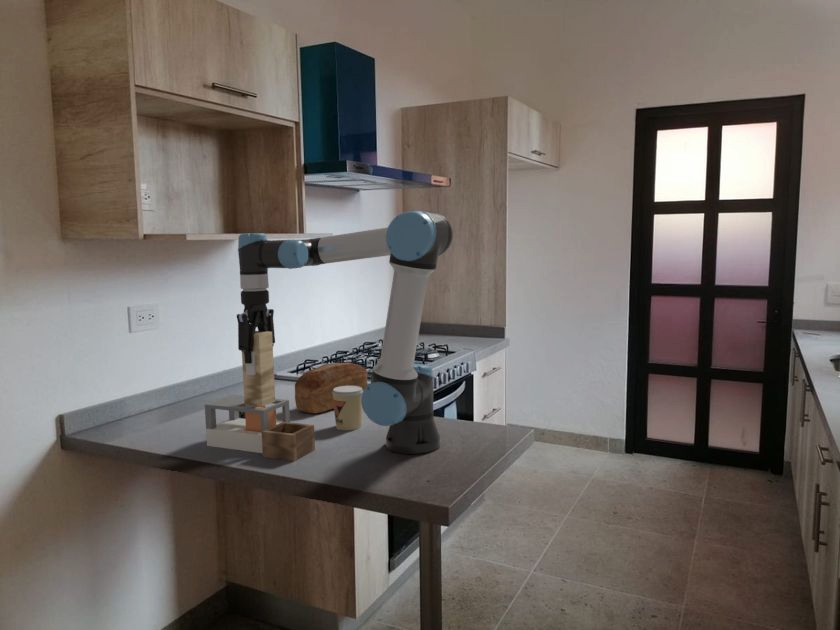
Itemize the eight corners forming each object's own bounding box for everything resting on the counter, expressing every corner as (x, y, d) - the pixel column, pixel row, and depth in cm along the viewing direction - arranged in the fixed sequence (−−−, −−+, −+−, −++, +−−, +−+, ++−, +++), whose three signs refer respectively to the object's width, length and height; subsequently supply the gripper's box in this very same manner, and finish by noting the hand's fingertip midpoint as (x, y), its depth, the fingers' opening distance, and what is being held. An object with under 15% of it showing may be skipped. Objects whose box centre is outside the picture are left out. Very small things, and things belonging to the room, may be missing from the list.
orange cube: (276, 429, 188) (275, 408, 188) (263, 435, 183) (262, 413, 182) (259, 427, 191) (258, 406, 190) (246, 433, 185) (245, 411, 185)
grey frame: (290, 440, 191) (288, 400, 189) (265, 453, 180) (263, 410, 178) (234, 433, 199) (232, 394, 197) (207, 445, 188) (204, 404, 186)
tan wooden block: (275, 401, 188) (272, 331, 185) (262, 406, 182) (258, 334, 180) (257, 399, 190) (254, 330, 187) (244, 404, 184) (240, 333, 182)
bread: (373, 400, 237) (372, 360, 235) (314, 417, 215) (312, 374, 213) (349, 395, 244) (348, 357, 243) (290, 411, 223) (288, 370, 221)
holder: (315, 449, 182) (314, 425, 181) (294, 461, 173) (293, 435, 172) (284, 445, 186) (283, 421, 185) (262, 457, 177) (261, 431, 176)
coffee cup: (329, 425, 206) (327, 387, 204) (357, 421, 210) (356, 384, 208) (339, 433, 197) (338, 393, 196) (368, 428, 202) (367, 389, 200)
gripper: (264, 286, 192) (268, 365, 195) (220, 292, 175) (225, 378, 178) (286, 287, 189) (289, 366, 192) (243, 292, 172) (248, 380, 175)
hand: (258, 372), depth 185 cm, fingers closed on tan wooden block, 6 cm apart
